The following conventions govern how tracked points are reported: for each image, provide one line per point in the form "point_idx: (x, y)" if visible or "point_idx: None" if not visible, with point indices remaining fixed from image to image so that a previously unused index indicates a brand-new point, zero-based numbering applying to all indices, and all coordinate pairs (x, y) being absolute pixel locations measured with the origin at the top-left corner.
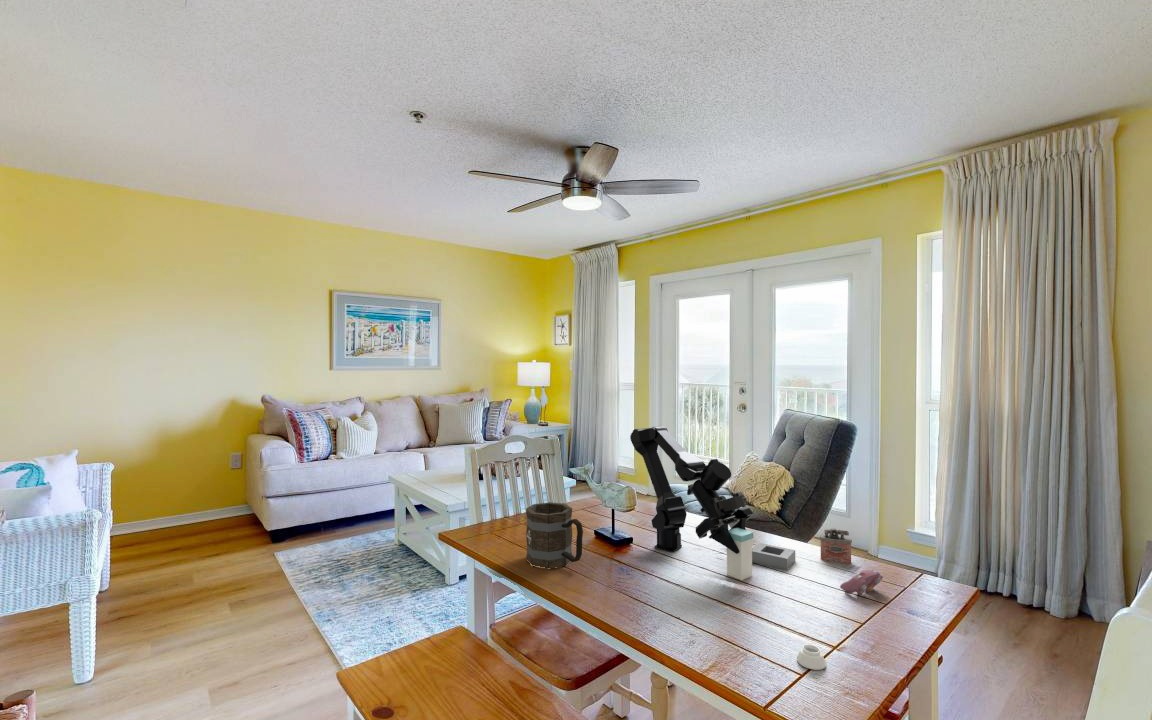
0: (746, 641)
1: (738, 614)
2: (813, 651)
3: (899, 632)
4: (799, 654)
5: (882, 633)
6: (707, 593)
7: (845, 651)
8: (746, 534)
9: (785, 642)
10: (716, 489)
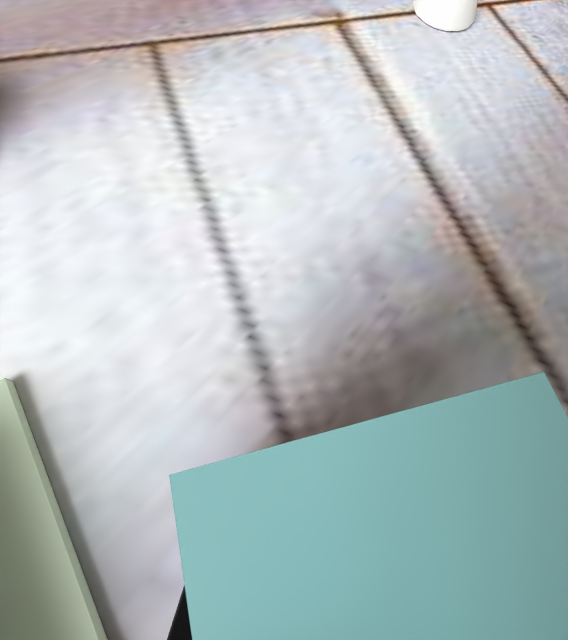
0: (548, 117)
1: (500, 227)
2: (431, 1)
3: None
4: (476, 4)
5: (156, 3)
6: None
7: (328, 5)
8: (397, 424)
9: (446, 77)
10: None
